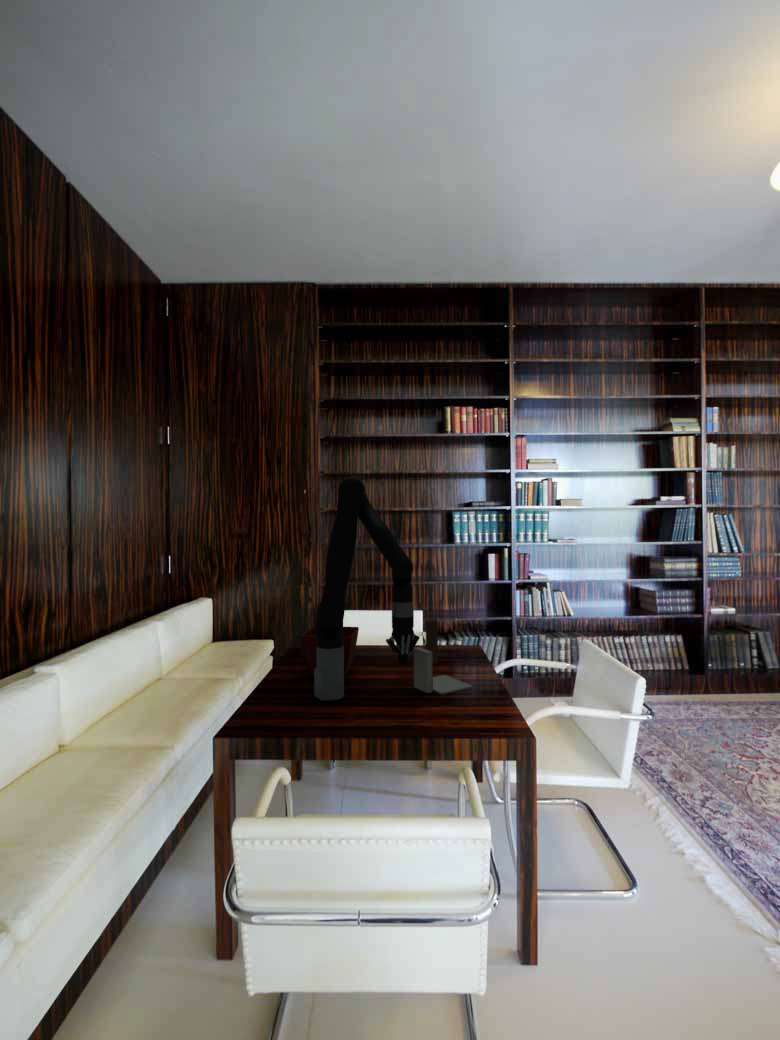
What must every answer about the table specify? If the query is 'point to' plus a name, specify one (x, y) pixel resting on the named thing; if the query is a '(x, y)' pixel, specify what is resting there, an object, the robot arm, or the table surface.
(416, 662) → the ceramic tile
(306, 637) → the plant pot
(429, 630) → the wooden block
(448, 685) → the felt pad
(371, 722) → the table surface
